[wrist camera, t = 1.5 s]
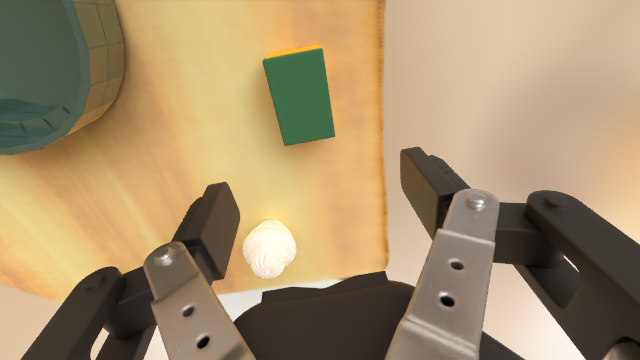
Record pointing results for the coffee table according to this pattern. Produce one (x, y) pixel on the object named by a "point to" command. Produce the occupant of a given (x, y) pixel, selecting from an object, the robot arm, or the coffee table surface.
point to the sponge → (300, 94)
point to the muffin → (269, 249)
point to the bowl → (56, 69)
